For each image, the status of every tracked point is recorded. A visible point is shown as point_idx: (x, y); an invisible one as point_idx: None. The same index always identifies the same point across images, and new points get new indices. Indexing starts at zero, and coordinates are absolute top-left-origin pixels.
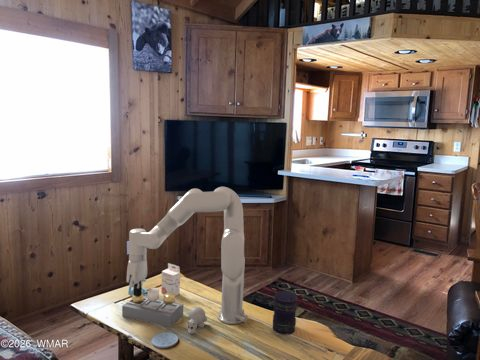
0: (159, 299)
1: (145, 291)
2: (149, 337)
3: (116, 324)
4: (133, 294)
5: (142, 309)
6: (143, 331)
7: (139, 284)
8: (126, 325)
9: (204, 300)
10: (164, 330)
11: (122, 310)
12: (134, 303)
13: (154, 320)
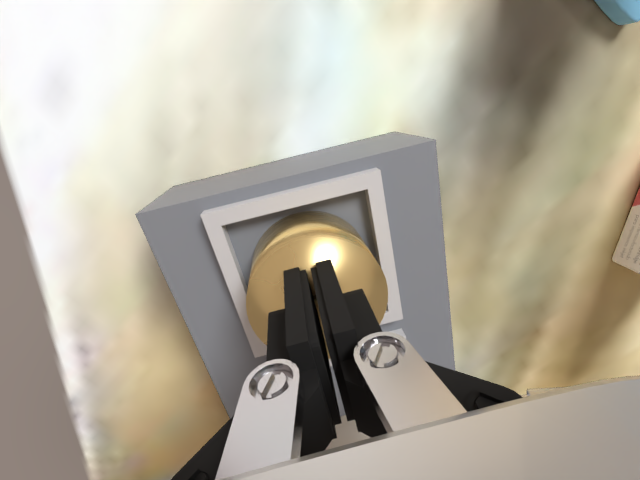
0: (448, 368)
1: (629, 3)
2: (146, 476)
3: (65, 249)
4: (300, 246)
5: (231, 397)
6: (159, 423)
7: (378, 433)
8: (118, 310)
9: None
10: None
11: (156, 201)
12: (240, 299)
13: None
